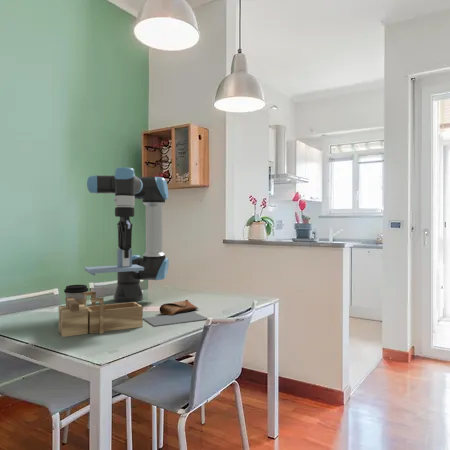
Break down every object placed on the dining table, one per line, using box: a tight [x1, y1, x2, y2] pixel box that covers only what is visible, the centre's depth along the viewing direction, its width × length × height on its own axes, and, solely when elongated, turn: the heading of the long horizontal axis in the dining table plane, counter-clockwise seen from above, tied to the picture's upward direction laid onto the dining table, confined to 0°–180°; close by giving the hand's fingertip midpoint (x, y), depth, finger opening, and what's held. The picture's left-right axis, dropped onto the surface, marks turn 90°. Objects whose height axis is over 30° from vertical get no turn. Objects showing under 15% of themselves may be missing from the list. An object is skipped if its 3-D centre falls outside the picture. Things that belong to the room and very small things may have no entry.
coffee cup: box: [63, 284, 90, 306], centre depth 160 cm, size 9×9×15 cm
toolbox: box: [58, 291, 144, 338], centre depth 153 cm, size 15×30×13 cm, turn 119°
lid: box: [84, 248, 144, 276], centre depth 155 cm, size 11×21×9 cm, turn 119°
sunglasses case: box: [159, 299, 199, 315], centre depth 182 cm, size 18×7×7 cm
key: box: [65, 297, 79, 312], centre depth 147 cm, size 16×2×2 cm, turn 29°
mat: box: [143, 311, 208, 327], centre depth 168 cm, size 14×24×1 cm, turn 119°
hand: (124, 265), depth 157 cm, fingers closed on lid, 3 cm apart
